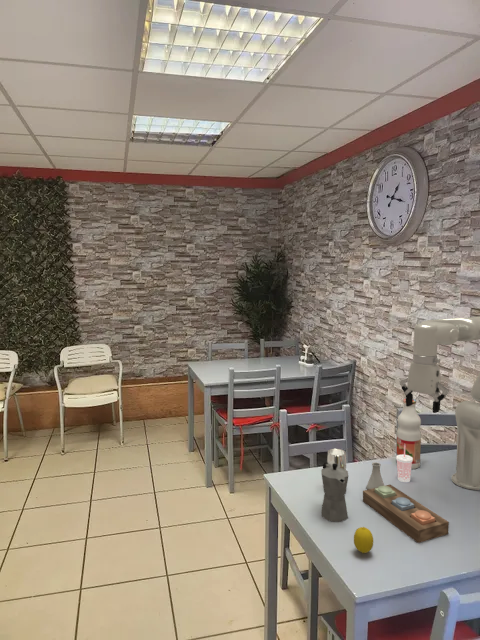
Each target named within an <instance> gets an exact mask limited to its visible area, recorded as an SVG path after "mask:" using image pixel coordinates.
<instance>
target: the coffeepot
mask: <svg viewBox="0 0 480 640" xmlns="http://www.w3.org/2000/svg"><path fill="white" fill-rule="evenodd" d="M332 465H333V467H331V465H330V464H328V463H327V461H325V462H324V463H323V464H322V468H321V470H320V471H321V480H322V486H323V492H324V495H323V500H322V505H321V511H320V512H321V517H322V519H325V520H326V521H329V522H332V523H341V522H345V521H346V520H347V519H349V517H348V510H347V502H346V495H345V494H346V493H347V486H348V481H349V471H348V470H344V469H342V468H340V467H337V464H332Z"/></svg>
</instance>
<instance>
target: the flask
mask: <svg viewBox="0 0 480 640" xmlns="http://www.w3.org/2000/svg"><path fill="white" fill-rule="evenodd" d="M371 466H372V469H371V474H370V477H369V479H368V482H367V484H366V486H365V490H368V489H373V488H377V487H379V486H385V482H384V480H383V478H382V474H381V463H380V462H377V461H376V462H375V461H374V462H372V463H371Z"/></svg>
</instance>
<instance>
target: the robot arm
mask: <svg viewBox="0 0 480 640" xmlns="http://www.w3.org/2000/svg"><path fill="white" fill-rule="evenodd" d="M477 340H480V315H479V316H471V317H458V318H456V317H455V318H444V319H442V318H441V319H439V318H438V319H426V320H423V321H421V322H420V323H417V324H415V326H414V329H413V347H412V348H413V349H412V350H413V351H412V352H413V353H412V362H410V365H409V369H408V374H407V378H403V379H401V380H399V385H400V387H401V390H402V392H404V393H403V394H404V395H405V399H406V406H411V405H412V404H413V399H414V394H413V393H414V392H416V393H419V394H425V395H429V396H431V397H432V398H433V400H434V401H433V402H432V413H433V414H437V413H439V411H440V410H441V401H442V400H443V399H445V398H446V397H447V395H448V394H449V393H450V390H449V389H448V388H447V387H446V386H444V385H443V384H442V382H441V381H442V379H441V370H440V365H438V364H439V363H441V359H440V358H438V346H439V345H443V346H451V345H454V344H455V343H457V342H471V341H477ZM406 383H407V384H406ZM441 391H442V392H441ZM440 393H441V394H440ZM470 395H471V398H472V399H473V400H475V401H471V400H469V401H468V400H464V401H461V402H459V403H458V404H457V405H456V406H455V407H456V408H455V412H454V413H455V414H454V415H455V421H456V426H457V427H456V428H457V429H456V430H457V439H456V440H457V441H456V445H457V446H456V462H455V463H456V464H455V465H456V467H455V473H453V474H452V475H451V481H452V482H453V484H455V485H456V486H459V487H461V488H463V489H467V490H474V491H479V490H480V372H479V373H478V375H477V377H476V378H475V381H474V383H473V385H472V388H471V390H470ZM476 401H477V402H476Z"/></svg>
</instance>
